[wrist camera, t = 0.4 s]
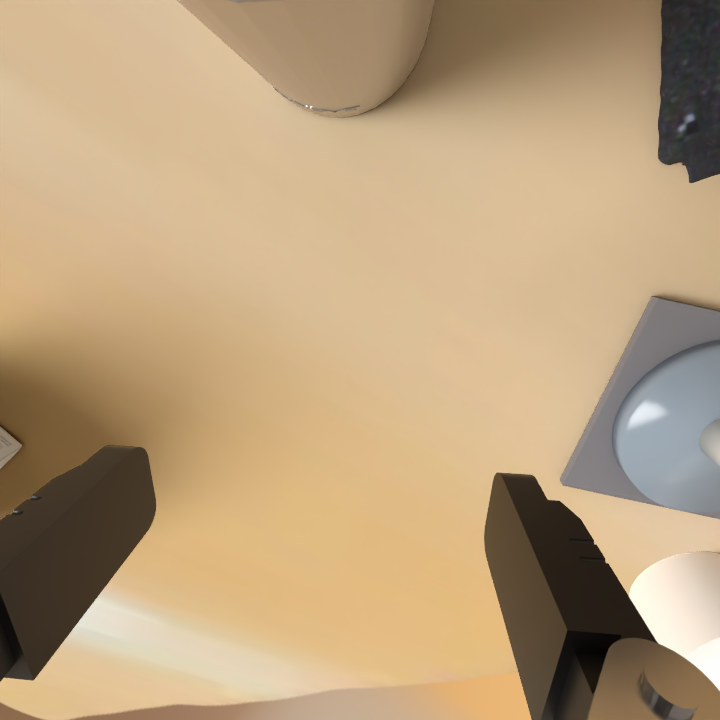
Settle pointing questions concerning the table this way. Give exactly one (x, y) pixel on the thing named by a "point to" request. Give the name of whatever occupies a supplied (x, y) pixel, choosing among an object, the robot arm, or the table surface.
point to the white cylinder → (684, 607)
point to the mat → (644, 351)
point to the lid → (674, 431)
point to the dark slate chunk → (690, 86)
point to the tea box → (7, 447)
